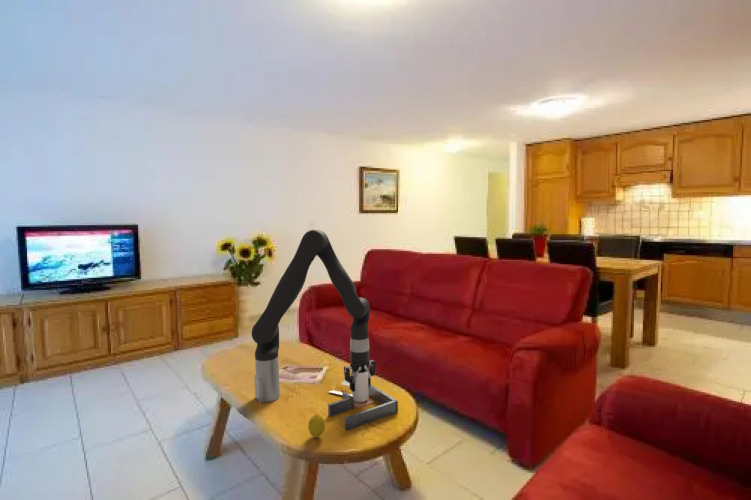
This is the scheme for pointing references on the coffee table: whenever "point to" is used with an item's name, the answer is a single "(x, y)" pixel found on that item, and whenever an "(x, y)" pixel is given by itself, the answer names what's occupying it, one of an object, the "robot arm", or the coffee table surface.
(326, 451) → the coffee table surface
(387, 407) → the guide rails
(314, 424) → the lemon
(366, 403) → the pad
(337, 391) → the white strips
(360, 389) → the can
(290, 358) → the coffee table surface
